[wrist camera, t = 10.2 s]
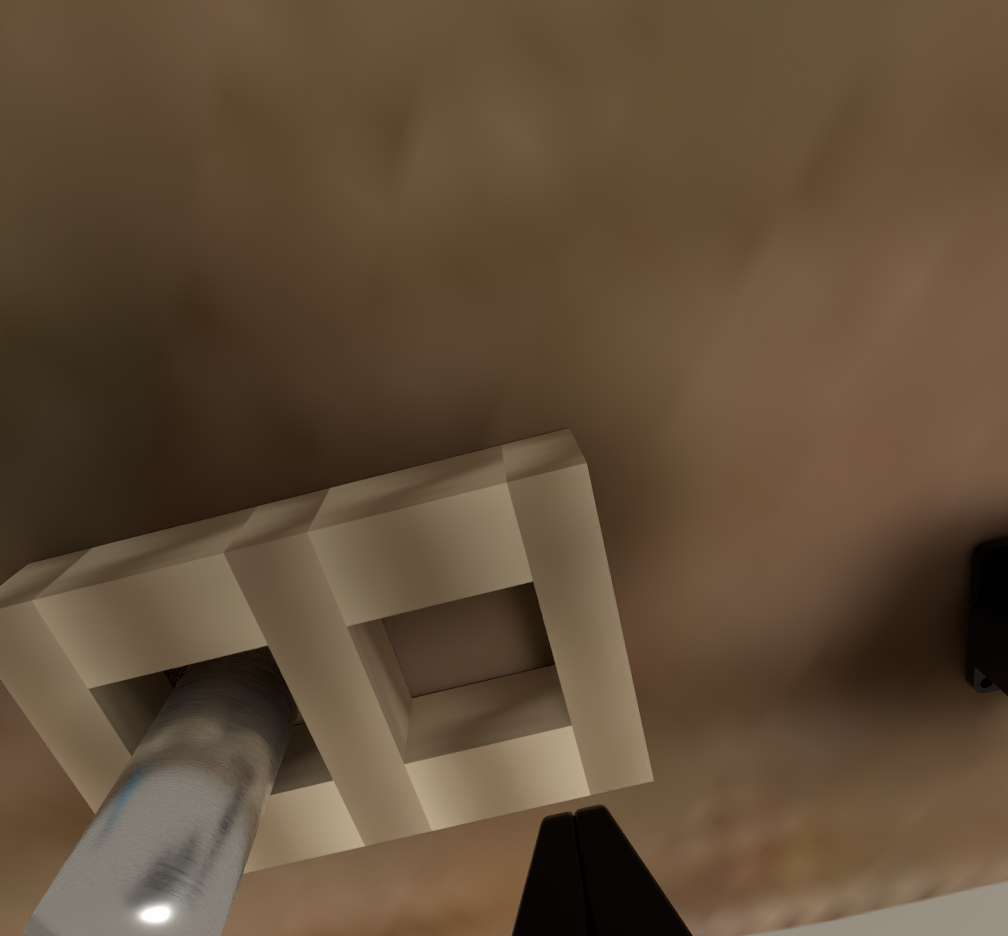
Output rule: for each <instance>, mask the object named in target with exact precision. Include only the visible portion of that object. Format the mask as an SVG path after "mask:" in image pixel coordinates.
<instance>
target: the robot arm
mask: <svg viewBox="0 0 1008 936" xmlns="http://www.w3.org/2000/svg"><path fill="white" fill-rule="evenodd" d="M992 555H993V556H992ZM991 556H992V557H991ZM990 557H991V558H990ZM989 558H990V559H989ZM966 681H967V683H968V684H969V685H970V686H971V687H973V688H974V689H975V690H976V691H977V692H979V693H987V692H992V691H996V690H1002V691H1003V692H1004V693H1005V694H1006V695H1007V696H1008V537H1006V538H1002V539H997V540H993V541H989V542H986V543H983V544H981V545H980V546H979V547H977V548H976V550H975V551H974V552H973V556H972V568H971V587H970V607H969V626H968V646H967V666H966ZM512 936H693V935H692V934H691V932H690V931H689V929H688V928H687V926H686V925H685V923H684V922H683V920H682V919H681V917H680V916H679V915H678V913H677V912H676V910H675V909H674V907H673V906H672V904H671V903H670V901H669V900H668V898H667V897H666V895H665V894H664V892H663V891H662V889H661V888H660V886H659V885H658V883H657V882H656V880H655V879H654V877H653V876H652V874H651V873H650V871H649V870H648V869H647V867H646V866H645V864H644V863H643V861H642V860H641V858H640V857H639V855H638V854H637V852H636V851H635V849H634V848H633V846H632V845H631V843H630V842H629V840H628V839H627V837H626V836H625V834H624V833H623V831H622V830H621V828H620V827H619V825H618V824H617V823H616V821H615V820H614V818H613V817H612V815H611V814H610V812H609V811H608V809H607V808H606V807H605V806H604V805H601V804H599V805H594V806H590V807H585V808H581V809H578V810H577V811H576V812H575V817H574V815H573V813H571V812H563V813H559V814H554V815H550V816H546V817H545V818H544V819H543V820H542V822H541V825H540V828H539V832H538V836H537V840H536V844H535V848H534V851H533V855H532V859H531V863H530V867H529V871H528V875H527V878H526V882H525V886H524V890H523V894H522V898H521V901H520V905H519V909H518V913H517V917H516V921H515V925H514V928H513V932H512Z"/></svg>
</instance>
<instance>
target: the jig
mask: <svg viewBox="0 0 1008 936" xmlns="http://www.w3.org/2000/svg"><path fill="white" fill-rule="evenodd" d="M529 582H534V586H535V590H536V594H537V597H538V601H539V605H540V608H541V612H542V616H543V620H544V623H545V627H546V631H547V635H548V638H549V642H550V646H551V650H552V653H553V657H554V661H555V665H551V666H547V667H543V668H538V669H534V670H530V671H526V672H521V673H517V674H513V675H509V676H504V677H500V678H496V679H492V680H487V681H483V682H479V683H475V684H470V685H466V686H462V687H458V688H453V689H449V690H445V691H441V692H436V693H432V694H428V695H424V696H419V697H415V698H412V697H411V694H410V692H409V689H408V687H407V684H406V682H405V679H404V676H403V674H402V671H401V669H400V666H399V664H398V661H397V658H396V656H395V653H394V651H393V648H392V646H391V643H390V640H389V638H388V635H387V633H386V630H385V628H384V625H383V622H382V620H381V618H384V617H388V616H392V615H396V614H400V613H404V612H409V611H413V610H417V609H421V608H425V607H429V606H433V605H438V604H442V603H446V602H450V601H454V600H458V599H462V598H467V597H471V596H475V595H479V594H483V593H487V592H491V591H496V590H500V589H504V588H508V587H512V586H516V585H520V584H525V583H529ZM264 646H269V648H270V650H271V653H272V655H273V657H274V659H275V661H276V663H277V665H278V667H279V669H280V671H281V673H282V675H283V677H284V679H285V681H286V684H287V686H288V688H289V690H290V692H291V694H292V696H293V698H294V700H295V702H296V704H297V706H298V708H299V710H300V712H301V715H302V717H303V719H304V721H305V724H300V725H296V726H294V727H293V730H292V733H291V736H290V738H289V741H288V744H287V747H286V750H285V753H284V756H283V759H282V762H281V765H280V767H279V770H278V773H277V776H276V779H275V782H274V785H273V788H272V791H271V794H270V796H269V799H268V802H267V805H266V808H265V811H264V814H263V817H262V820H261V823H260V825H259V828H258V831H257V834H256V837H255V840H254V843H253V846H252V849H251V852H250V854H249V857H248V860H247V863H246V866H245V869H244V872H243V874H244V873H248V872H253V871H257V870H262V869H266V868H270V867H275V866H279V865H284V864H288V863H293V862H297V861H301V860H306V859H310V858H315V857H319V856H324V855H328V854H332V853H337V852H341V851H346V850H350V849H355V848H359V847H363V846H368V845H372V844H377V843H381V842H386V841H390V840H394V839H399V838H403V837H408V836H412V835H417V834H421V833H425V832H430V831H434V830H439V829H443V828H448V827H452V826H456V825H461V824H465V823H470V822H474V821H479V820H483V819H487V818H492V817H496V816H501V815H505V814H510V813H514V812H518V811H523V810H527V809H532V808H536V807H541V806H545V805H549V804H554V803H558V802H563V801H567V800H572V799H576V798H580V797H585V796H589V795H594V794H598V793H603V792H607V791H611V790H616V789H620V788H625V787H629V786H634V785H638V784H642V783H647V782H651V781H654V780H653V775H652V770H651V766H650V761H649V756H648V751H647V747H646V742H645V737H644V732H643V728H642V723H641V718H640V713H639V709H638V704H637V699H636V694H635V690H634V685H633V680H632V675H631V671H630V666H629V661H628V656H627V652H626V647H625V642H624V637H623V633H622V628H621V623H620V618H619V614H618V609H617V604H616V599H615V595H614V590H613V585H612V580H611V576H610V571H609V566H608V561H607V557H606V552H605V547H604V542H603V538H602V533H601V528H600V523H599V519H598V514H597V509H596V504H595V500H594V495H593V490H592V485H591V481H590V476H589V471H588V466H587V462H586V460H585V458H584V456H583V454H582V452H581V450H580V448H579V446H578V444H577V442H576V440H575V438H574V436H573V434H572V432H571V430H570V428H567V429H563V430H559V431H555V432H551V433H547V434H543V435H539V436H535V437H531V438H527V439H523V440H519V441H515V442H511V443H507V444H504V445H500V446H496V447H492V448H488V449H484V450H480V451H476V452H472V453H468V454H464V455H460V456H456V457H452V458H448V459H444V460H440V461H436V462H432V463H428V464H424V465H420V466H416V467H412V468H408V469H404V470H400V471H396V472H392V473H388V474H384V475H380V476H376V477H372V478H368V479H364V480H360V481H356V482H352V483H348V484H344V485H340V486H336V487H332V488H328V489H324V490H320V491H316V492H312V493H308V494H304V495H300V496H296V497H292V498H288V499H285V500H281V501H277V502H273V503H269V504H265V505H261V506H257V507H253V508H249V509H245V510H241V511H237V512H233V513H229V514H225V515H221V516H217V517H213V518H209V519H205V520H201V521H197V522H193V523H189V524H185V525H181V526H177V527H173V528H169V529H165V530H161V531H157V532H153V533H149V534H145V535H141V536H137V537H133V538H129V539H125V540H121V541H117V542H113V543H109V544H105V545H101V546H97V547H93V548H89V549H85V550H81V551H77V552H73V553H69V554H66V555H62V556H58V557H54V558H50V559H46V560H42V561H38V562H34V563H30V564H28V565H26V566H25V567H24V568H22V569H21V570H20V571H19V572H17V573H16V574H15V575H14V576H12V577H11V578H10V579H8V580H7V581H6V582H5V583H3V584H2V585H1V586H0V680H1V681H2V683H3V684H4V686H5V687H6V689H7V690H8V691H9V693H10V694H11V696H12V697H13V698H14V700H15V701H16V703H17V704H18V705H19V707H20V708H21V710H22V711H23V713H24V714H25V715H26V717H27V718H28V720H29V721H30V722H31V724H32V725H33V727H34V728H35V730H36V731H37V732H38V734H39V735H40V737H41V738H42V739H43V741H44V742H45V744H46V745H47V746H48V748H49V749H50V751H51V752H52V754H53V755H54V756H55V758H56V759H57V761H58V762H59V763H60V765H61V766H62V768H63V769H64V771H65V772H66V773H67V775H68V776H69V778H70V779H71V780H72V782H73V783H74V785H75V786H76V788H77V789H78V790H79V792H80V793H81V795H82V796H83V797H84V799H85V800H86V802H87V803H88V804H89V806H90V807H91V809H92V810H93V812H94V813H95V814H96V813H97V811H98V809H99V808H100V806H101V805H102V803H103V801H104V800H105V798H106V797H107V795H108V793H109V792H110V790H111V789H112V787H113V785H114V784H115V782H116V781H117V779H118V777H119V776H120V774H121V773H122V771H123V770H124V768H125V766H126V765H127V763H128V762H129V760H130V758H131V757H132V755H133V754H134V752H135V750H136V749H137V747H138V746H139V744H140V742H141V741H142V739H143V738H144V736H145V734H146V733H147V731H148V730H149V728H150V726H151V725H152V723H153V722H154V720H155V719H156V717H157V715H158V714H159V712H160V711H161V709H162V707H163V706H164V704H165V703H166V701H167V699H168V698H169V696H170V695H171V693H172V691H173V690H174V689H173V687H172V685H171V683H170V682H169V680H168V678H167V676H166V675H165V673H164V670H168V669H172V668H176V667H181V666H185V665H189V664H193V663H197V662H201V661H205V660H210V659H214V658H218V657H222V656H226V655H230V654H234V653H239V652H243V651H247V650H251V649H255V648H259V647H264Z"/></svg>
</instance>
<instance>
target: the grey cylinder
mask: <svg viewBox="0 0 1008 936" xmlns="http://www.w3.org/2000/svg"><path fill="white" fill-rule="evenodd" d="M298 712H299V708H298V706H297V704H296V702H295V700H294V698H293V696H292V694H291V692H290V690H289V688H288V686H287V684H286V681H285V679H284V677H283V675H282V673H281V671H280V669H279V667H278V665H277V663H276V661H275V659H274V657H273V655H272V653H271V650H270V648H269V646H264V647H259V648H255V649H251V650H247V651H243V652H239V653H234V654H230V655H226V656H222V657H218V658H214V659H210V660H205V661H201V662H197V663H193V664H189V666H188V668H187V669H186V671H185V672H184V674H183V676H182V677H181V679H180V680H179V682H178V683H177V685H176V687H175V688H174V690H173V691H172V693H171V695H170V696H169V698H168V699H167V701H166V703H165V704H164V706H163V707H162V709H161V711H160V712H159V714H158V715H157V717H156V719H155V720H154V722H153V723H152V725H151V726H150V728H149V730H148V731H147V733H146V734H145V736H144V738H143V739H142V741H141V742H140V744H139V746H138V747H137V749H136V750H135V752H134V754H133V755H132V757H131V758H130V760H129V762H128V763H127V765H126V766H125V768H124V770H123V771H122V773H121V774H120V776H119V777H118V779H117V781H116V782H115V784H114V785H113V787H112V789H111V790H110V792H109V793H108V795H107V797H106V798H105V800H104V801H103V803H102V805H101V806H100V808H99V809H98V811H97V813H96V814H95V816H94V817H93V819H92V820H91V822H90V824H89V825H88V827H87V828H86V830H85V832H84V833H83V835H82V836H81V838H80V840H79V841H78V843H77V844H76V846H75V848H74V849H73V851H72V852H71V854H70V856H69V857H68V859H67V860H66V862H65V863H64V865H63V867H62V868H61V870H60V871H59V873H58V875H57V876H56V878H55V879H54V881H53V883H52V884H51V886H50V887H49V889H48V891H47V892H46V894H45V895H44V897H43V899H42V900H41V902H40V903H39V905H38V907H37V908H36V910H35V911H34V913H33V914H32V916H31V918H30V919H29V921H28V923H27V925H26V928H25V933H24V936H222V933H223V930H224V927H225V924H226V921H227V918H228V915H229V912H230V910H231V907H232V904H233V901H234V898H235V895H236V892H237V889H238V886H239V883H240V881H241V878H242V875H243V872H244V869H245V866H246V863H247V860H248V857H249V854H250V852H251V849H252V846H253V843H254V840H255V837H256V834H257V831H258V828H259V825H260V823H261V820H262V817H263V814H264V811H265V808H266V805H267V802H268V799H269V796H270V794H271V791H272V788H273V785H274V782H275V779H276V776H277V773H278V770H279V767H280V765H281V762H282V759H283V756H284V753H285V750H286V747H287V744H288V741H289V738H290V736H291V733H292V730H293V727H294V724H295V721H296V718H297V715H298Z"/></svg>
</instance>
